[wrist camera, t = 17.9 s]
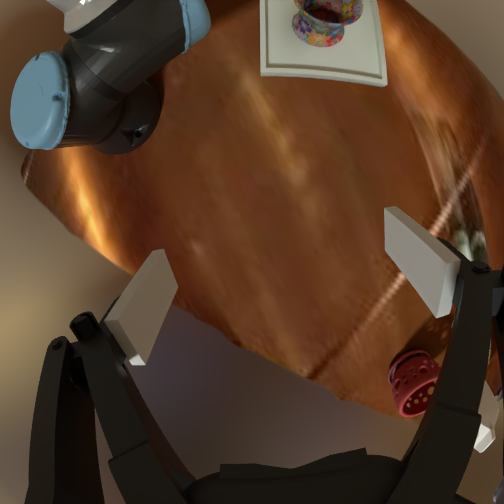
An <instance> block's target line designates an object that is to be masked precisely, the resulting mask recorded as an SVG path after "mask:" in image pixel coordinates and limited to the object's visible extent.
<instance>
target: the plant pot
mask: <svg viewBox="0 0 504 504" xmlns="http://www.w3.org/2000/svg"><path fill="white" fill-rule="evenodd" d="M440 370H441V366H440V365H439V364H438V363H437V362H435V361H434V360H432V359H431V358H430V355H429V354H428V353H427V352H426V351H424V350H412V351H409V352H407V353H405V354H403V355H402V356H400V357H399V358H398V359H397V360H396V361H395V362H394V363H393V364H392V366H391V367H390V369H389V372H388V382H389V383H390V384H391V385H392V392H393V397H394V400H395V403H396V406H397V409H398V411H399V413H400V414H401V415H402V416H405V417H412V416H417V415H420V414H422V413H424V412H425V411H426V409H427V406H428V404H429V401H430V399H431V396H432V395H429V394H428V389H429V388H430V387H434V388H435V385H436V383H434V382H433V381H434V380H436V382H437V379H438V376H439V373H440ZM419 394H423V395H422V396H421V397H420V396H419ZM408 398H411V399H412V400H411V401H409V400H408ZM424 398H428V400H427V401H426V402H423V399H424ZM415 400H418V401H419V403H418V404H415V403H414V401H415ZM407 404H408V405H410V407H407V406H406V405H407Z"/></svg>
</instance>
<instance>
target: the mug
mask: <svg viewBox="0 0 504 504" xmlns="http://www.w3.org/2000/svg"><path fill="white" fill-rule="evenodd" d="M294 3H295V5H296V6H297V8H298V9H299V11H298V12H297V13H296V14H295V15H294V17H293V19H292V28H293V30H294V32H295V34H296V35H297V36H298V37H299V38H300V39H301V40H302V41H303V42H305V43H307V44H309V45H312V46H315V47H330V46H333V45H336V44H337V43H339V42H340V41H341V40H342V38H343V36H344V26H346V25H350V24H352V23H354V22H356V21H357V20H358V19H359V18H360V17H361V15H362V13H363V3H362V0H294Z"/></svg>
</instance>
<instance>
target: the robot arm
mask: <svg viewBox="0 0 504 504" xmlns="http://www.w3.org/2000/svg"><path fill="white" fill-rule="evenodd" d="M46 1H48V2H50V3H51V4H52V5H54V6H55V7H57V8H58V9H60V10H61V11H63V12H64V15H65V20H64V31H65V32H66V33H68V34H69V35H71V36H72V37H71V38H70V39H69V40H68V41H67V42H66V43H65V44H64V45H63V46H62V47H61V48H60V50H59V51H58V52H54V51H48V52H43V53H41V54H38V55H36V56H35V57H33V58H32V59H31V60H30V61H29V62H28V63H27V64H26V66H25V67H24V68H23V70H22V71H21V73H20V75H19V77H18V79H17V82H16V84H15V87H14V90H13V94H12V99H11V109H10V114H11V124H12V128H13V131H14V134H15V136H16V137H17V139H18V141H19V142H20V143H21V144H22V145H24V146H25V147H27V148H30V149H45V150H51V149H54V148H63V147H73V146H85V145H89V146H91V147H93V148H95V149H96V150H98V151H100V152H102V153H106V154H124V153H128V152H131V151H133V150H135V149H136V148H138V147H139V146H141V145H142V144H143V143H144V142H145V141H146V140H147V139H148V138H149V137H150V135H151V134H152V132H153V131H154V129H155V127H156V125H157V122H158V119H159V116H160V109H161V101H160V95H159V92H158V90H157V88H156V86H155V84H154V83H153V82H152V81H151V80H150V79H149V77H150V76H151V75H152V74H154V73H155V72H156V71H157V70H159V69H160V68H161V67H163V66H164V65H165V64H167V63H168V62H169V61H171V60H172V59H174V58H175V57H176V56H178V55H179V54H184V53H185V52H187V50H188V49H189V48H190V47H191V46H193V45H194V44H195V43H197V42H198V41H200V40H201V39H203V38H204V37H205V36H206V35H207V34H208V32H209V30H210V27H211V18H210V14H209V11H208V8H207V6H206V4H205V1H204V0H46ZM384 217H385V251H386V252H387V254H388V255H389V256H390V257H391V259H392V260H393V261H394V262H395V263H396V265H397V266H398V267H399V269H400V270H401V271H402V272H403V274H404V275H405V276H406V278H407V279H408V280H409V281H410V283H411V284H412V285H413V287H414V288H415V289H416V291H417V292H418V293H419V295H420V296H421V298H422V299H423V300H424V302H425V303H426V305H427V306H428V307H429V309H430V310H431V312H432V313H433V315H434V316H435V317H436V318H439V317H442V316H445V315H448V314H450V310H451V306H452V303H453V304H454V306H455V307H456V308H457V309H456V312H455V316H454V320H453V323H452V326H451V328H452V330H451V334H450V338H449V342H448V346H447V350H446V353H445V357H444V360H443V364H442V367H441V370H440V373H439V376H438V379H437V382H436V385H435V388H434V391H433V393H432V396H431V399H430V401H429V404H428V406H427V409H426V411H425V414H424V416H423V418H422V421H421V423H420V425H419V428H418V430H417V432H416V434H415V436H414V438H413V440H412V442H411V444H410V446H409V448H408V449H407V451H406V453H405V455H404V456H403V458H402V460H401V461H399V460H397V459H394V458H391V457H387V456H381V455H367V453H366V449H365V448H361V449H357V450H353V451H348V452H344V453H338V454H333V455H329V456H327V457H324V458H322V459H319V460H317V461H314V462H311V463H308V464H306V465H303V466H300V467H297V468H293V469H288V468H280V467H273V466H266V465H260V464H220V472H216V473H213V474H209V475H207V476H205V477H202V478H200V479H198V480H197V479H196V478H195V477H194V476H193V475H192V474H191V473H190V472H189V471H188V469H187V468H186V467H185V465H184V464H183V463H182V461H181V460H180V458H179V457H178V455H177V454H176V453H175V451H174V449H173V448H172V446H171V445H170V443H169V442H168V440H167V439H166V437H165V436H164V434H163V432H162V431H161V429H160V427H159V426H158V424H157V422H156V421H155V419H154V417H153V416H152V414H151V412H150V410H149V409H148V407H147V405H146V403H145V401H144V400H143V398H142V396H141V394H140V392H139V390H138V388H137V387H136V385H135V382H134V380H133V379H132V376H131V374H130V372H129V370H128V368H127V367H126V365H125V364H124V360H125V358H126V357H127V358H128V360H129V361H130V362H131V364H132V365H146V362H147V360H148V357H149V355H150V352H151V349H152V347H153V345H154V342H155V340H156V337H157V335H158V332H159V330H160V328H161V325H162V323H163V321H164V318H165V316H166V314H167V311H168V309H169V307H170V305H171V302H172V300H173V298H174V295H175V293H176V291H177V289H178V285H177V283H176V280H175V278H174V275H173V273H172V270H171V267H170V265H169V262H168V260H167V257H166V254H165V251H164V249H160V250H155V251H152V252H151V254H150V255H149V256H148V258H147V259H146V261H145V262H144V263H143V265H142V266H141V267H140V269H139V270H138V272H137V273H136V274H135V276H134V277H133V279H132V280H131V282H130V283H129V284H128V286H127V287H126V289H125V290H124V292H123V293H122V294H121V295H120V296H119V297H118V298H117V299H116V300H114V302H113V303H112V305H111V307H110V308H109V309H108V311H107V313H106V314H105V315H104V317H103V318H102V320H101V321H100V323H99V324H98V322H97V320H96V319H95V317H94V315H93V313H92V312H84V313H81V314H79V315H78V316H77V317H75V318H74V319H73V320H72V321H71V323H70V328H71V330H72V332H73V333H74V335H75V336H76V338H77V339H78V341H77V342H73V343H70V342H69V341H68V339H67V338H66V337H65V336H61V337H58V338H55V339H54V340H52V341H51V343H50V345H49V346H48V348H47V352H46V356H45V359H44V364H43V368H42V372H41V376H40V381H39V386H38V392H37V397H36V402H35V409H34V415H33V423H32V431H31V441H30V454H29V487H28V491H27V494H26V499H25V503H24V504H105V502H104V496H103V490H102V484H101V478H100V470H99V463H98V455H97V443H96V429H95V409H96V412H97V415H98V418H99V421H100V424H101V427H102V430H103V432H104V435H105V438H106V440H107V443H108V445H109V448H110V450H111V453H112V456H113V458H112V459H110V460H109V461H108V464H109V468H110V470H111V473H112V475H113V477H114V479H115V482H116V484H117V486H118V488H119V490H120V492H121V494H122V496H123V498H124V500H125V502H126V504H476V503H473V502H472V501H470V500H468V499H465V498H464V497H462V496H460V495H458V494H456V491H457V489H458V486H459V484H460V482H461V480H462V477H463V475H464V472H465V470H466V467H467V465H468V462H469V459H470V457H471V454H472V451H473V448H474V445H475V442H476V439H477V435H478V432H479V428H480V425H481V419H482V416H481V414H478V411H479V406H480V402H481V397H482V392H483V388H484V382H485V377H486V371H487V364H488V357H489V349H490V339H491V327H492V324H493V329H494V333H495V338H496V344H497V350H498V356H499V362H500V370H501V379H502V390H503V404H504V264H503V268H502V270H494V271H492V270H491V268H490V267H489V265H487V264H486V263H484V262H480V261H470V260H468V259H467V258H466V257H465V256H464V255H463V254H462V253H461V252H459V251H457V249H456V248H455V247H453V246H452V245H451V244H450V243H449V242H448V241H446V240H444V239H441V238H435V237H434V236H433V235H432V234H430V233H429V232H428V231H427V230H426V229H424V228H423V227H422V226H421V225H419V224H418V223H417V222H416V221H414V220H413V219H412V218H410V217H409V216H408V215H407V214H405V213H404V212H403V211H401V210H400V209H399V208H397V207H396V206H393V207H387V208H384ZM503 406H504V405H503ZM493 500H494V502H495V504H504V442H503V478H502V480H501V482H500V483H499V486H498V489H497V490H496V491H495V493H494V496H493Z"/></svg>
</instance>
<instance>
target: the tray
mask: <svg viewBox="0 0 504 504" xmlns="http://www.w3.org/2000/svg"><path fill="white" fill-rule="evenodd" d="M362 3H363V13H362V15H361V17H360V18H359V19H358V20H357V21H356V22H354V23H352V24H350V25H346V26H344V36H343V38H342V40H341V41H340V42H339V43H337V44H336V45H333V46H330V47H315V46H312V45H309V44H307V43H305V42H303V41H302V40H301V39H300V38H299V37H298V36H297V35H296V34H295V32H294V30H293V28H292V19H293V17H294V15H295V14H296V13H297V12H298V11H299V9H298V8H297V6H296V5H295V3H294V0H260V52H261V76H285V77H305V78H318V79H329V80H338V81H346V82H353V83H360V84H366V85H372V86H377V87H384V86H386V85H387V73H386V61H385V51H384V43H383V35H382V28H381V22H380V16H379V10H378V5H377V0H362Z"/></svg>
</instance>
